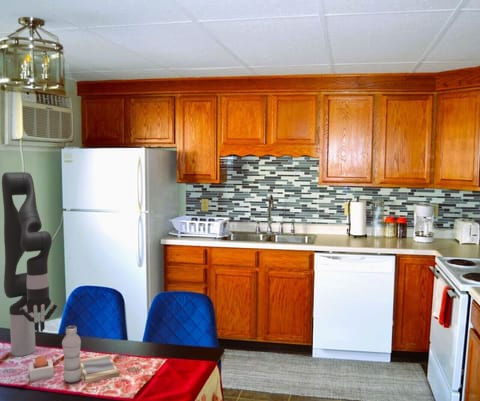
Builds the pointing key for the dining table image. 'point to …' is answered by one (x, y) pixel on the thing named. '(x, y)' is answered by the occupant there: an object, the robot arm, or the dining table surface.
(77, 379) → the plastic bottle
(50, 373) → the button housing
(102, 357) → the board
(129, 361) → the dining table surface
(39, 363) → the button cap
